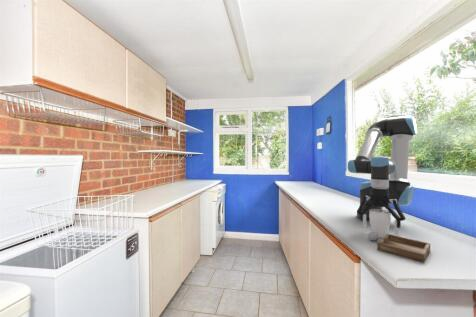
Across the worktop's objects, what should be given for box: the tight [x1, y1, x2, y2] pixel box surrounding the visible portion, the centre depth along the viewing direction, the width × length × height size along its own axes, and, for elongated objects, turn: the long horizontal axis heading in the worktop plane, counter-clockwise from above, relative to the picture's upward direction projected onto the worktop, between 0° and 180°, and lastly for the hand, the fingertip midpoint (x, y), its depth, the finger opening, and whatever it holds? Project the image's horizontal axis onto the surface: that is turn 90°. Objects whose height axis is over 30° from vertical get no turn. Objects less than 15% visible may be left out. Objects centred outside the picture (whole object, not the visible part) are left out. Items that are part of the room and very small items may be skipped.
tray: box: [376, 233, 431, 263], centre depth 91 cm, size 15×15×3 cm
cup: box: [369, 209, 392, 239], centre depth 108 cm, size 9×9×12 cm
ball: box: [367, 231, 379, 242], centre depth 101 cm, size 4×4×4 cm
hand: (379, 230), depth 108 cm, fingers open, 13 cm apart
